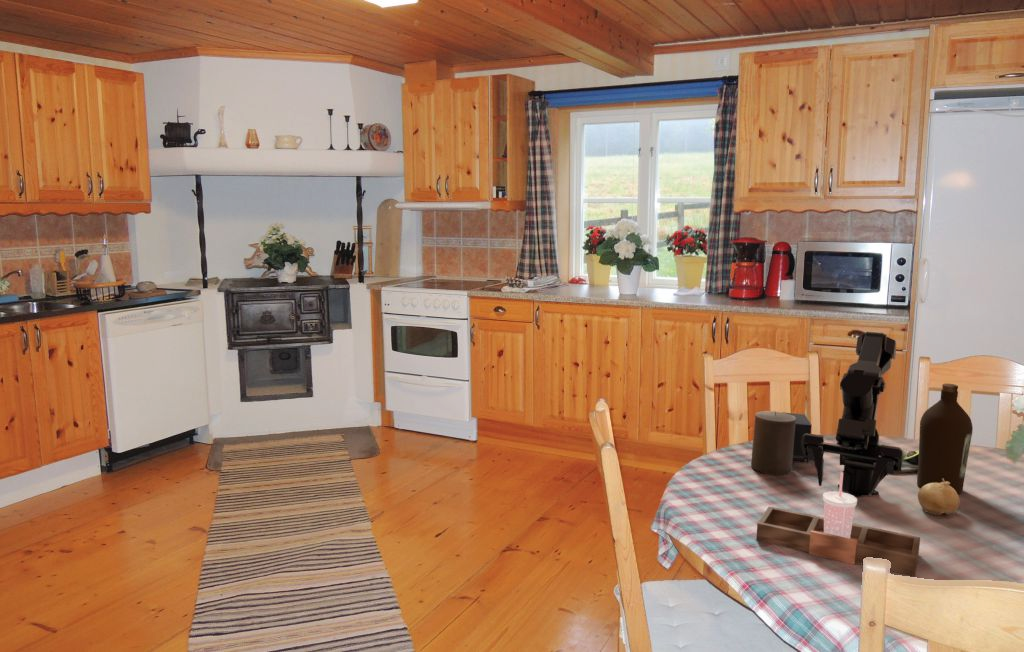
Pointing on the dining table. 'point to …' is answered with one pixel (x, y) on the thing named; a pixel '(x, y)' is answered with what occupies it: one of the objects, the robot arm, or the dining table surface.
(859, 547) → the wooden compartment tray
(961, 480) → the olive oil
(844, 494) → the beverage cup
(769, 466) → the pillar candle
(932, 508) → the onion
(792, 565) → the dining table surface
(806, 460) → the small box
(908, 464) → the salad plate
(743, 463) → the dining table surface
